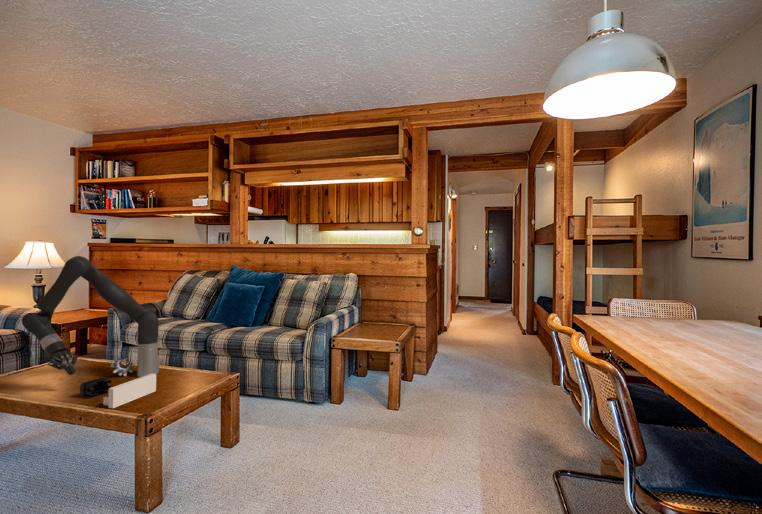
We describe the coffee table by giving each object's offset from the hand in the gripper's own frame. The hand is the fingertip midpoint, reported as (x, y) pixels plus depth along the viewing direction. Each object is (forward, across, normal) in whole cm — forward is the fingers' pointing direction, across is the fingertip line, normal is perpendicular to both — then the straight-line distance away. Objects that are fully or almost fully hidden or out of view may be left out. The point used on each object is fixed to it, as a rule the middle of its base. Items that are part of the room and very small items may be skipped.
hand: (73, 373), depth 180 cm
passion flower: (+5, +26, +7) cm, 27 cm away
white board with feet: (+29, 0, -17) cm, 34 cm away
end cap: (+16, 0, -4) cm, 16 cm away
